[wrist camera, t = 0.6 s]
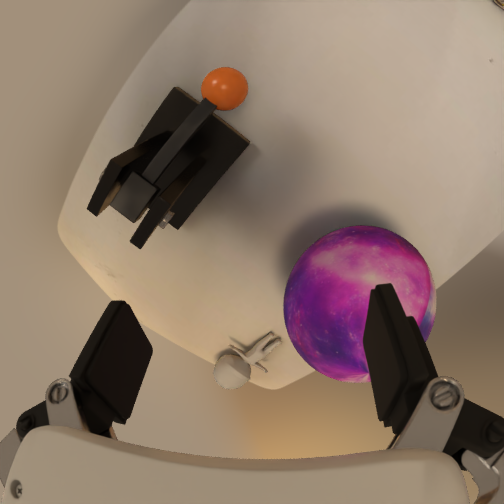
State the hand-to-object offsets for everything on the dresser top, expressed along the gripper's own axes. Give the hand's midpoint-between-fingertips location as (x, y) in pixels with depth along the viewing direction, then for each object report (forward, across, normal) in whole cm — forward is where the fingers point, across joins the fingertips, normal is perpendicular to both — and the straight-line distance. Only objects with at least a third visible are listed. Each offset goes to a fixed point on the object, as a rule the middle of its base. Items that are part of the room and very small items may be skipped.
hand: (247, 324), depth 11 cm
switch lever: (+14, +5, -5) cm, 16 cm away
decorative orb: (+20, -8, +12) cm, 25 cm away
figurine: (+20, +1, +23) cm, 31 cm away
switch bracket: (+20, +8, -2) cm, 22 cm away
